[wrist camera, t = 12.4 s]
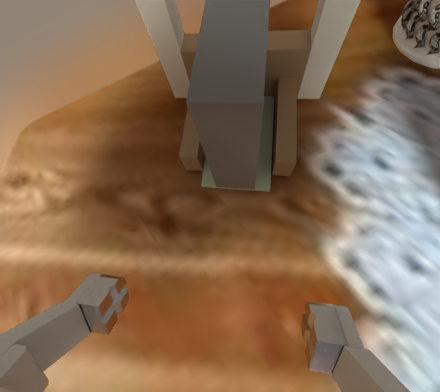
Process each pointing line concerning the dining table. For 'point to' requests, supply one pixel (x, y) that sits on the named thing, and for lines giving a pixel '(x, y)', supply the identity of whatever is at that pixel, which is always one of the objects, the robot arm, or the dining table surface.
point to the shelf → (274, 79)
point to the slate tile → (230, 88)
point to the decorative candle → (419, 32)
